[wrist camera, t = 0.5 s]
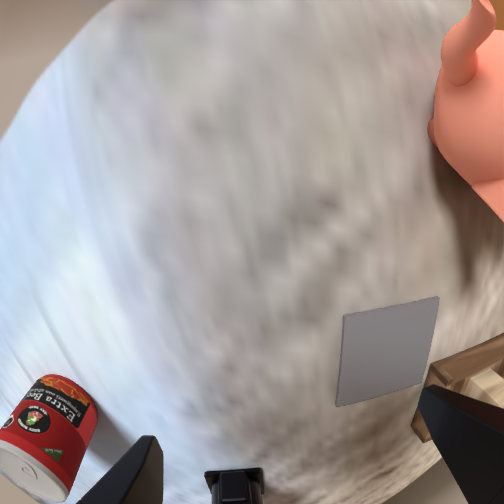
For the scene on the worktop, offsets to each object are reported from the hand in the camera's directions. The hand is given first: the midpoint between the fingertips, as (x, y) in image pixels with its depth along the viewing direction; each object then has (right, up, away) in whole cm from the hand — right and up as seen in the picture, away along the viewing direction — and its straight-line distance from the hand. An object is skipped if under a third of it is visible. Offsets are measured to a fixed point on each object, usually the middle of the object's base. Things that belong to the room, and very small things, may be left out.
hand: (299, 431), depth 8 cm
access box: (+26, -10, +19) cm, 34 cm away
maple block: (+26, -11, +17) cm, 33 cm away
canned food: (-20, -10, +15) cm, 27 cm away
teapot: (+18, +17, +12) cm, 27 cm away
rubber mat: (+11, -4, +16) cm, 20 cm away
